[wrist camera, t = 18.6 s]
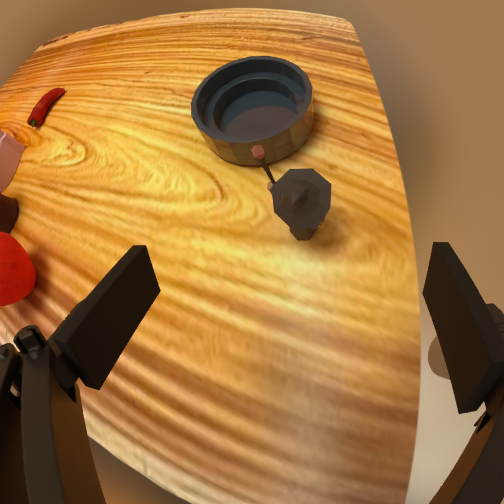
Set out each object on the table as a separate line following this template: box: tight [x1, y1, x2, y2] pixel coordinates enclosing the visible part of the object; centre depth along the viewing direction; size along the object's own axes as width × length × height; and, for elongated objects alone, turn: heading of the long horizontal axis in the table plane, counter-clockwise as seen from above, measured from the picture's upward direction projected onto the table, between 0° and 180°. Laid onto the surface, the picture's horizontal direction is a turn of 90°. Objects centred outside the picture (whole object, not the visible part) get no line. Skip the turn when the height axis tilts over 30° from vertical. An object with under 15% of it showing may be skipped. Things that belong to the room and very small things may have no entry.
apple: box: [0, 232, 36, 306], centre depth 37 cm, size 12×12×13 cm
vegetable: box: [27, 88, 65, 127], centre depth 54 cm, size 4×5×12 cm
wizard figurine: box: [251, 145, 331, 240], centre depth 30 cm, size 8×6×12 cm
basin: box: [191, 56, 314, 166], centre depth 38 cm, size 16×16×6 cm
